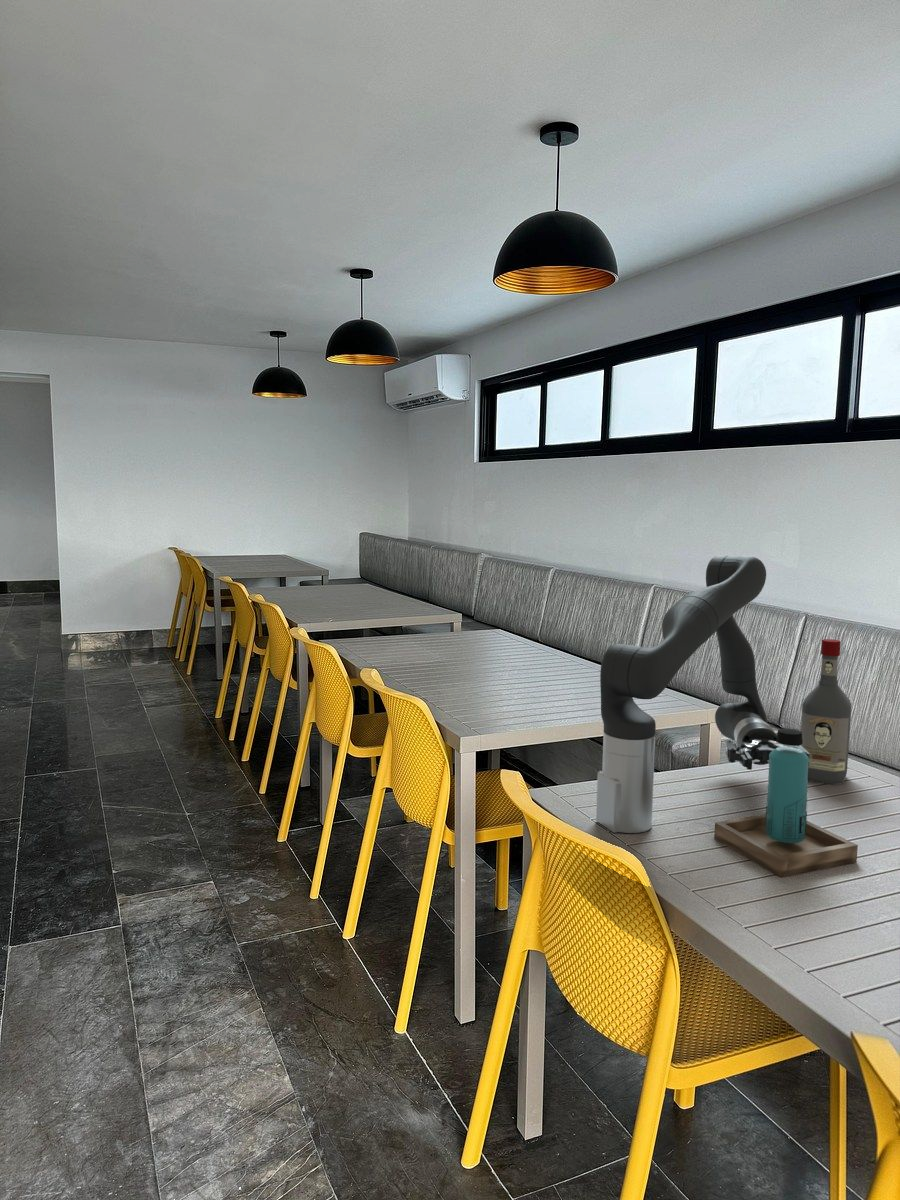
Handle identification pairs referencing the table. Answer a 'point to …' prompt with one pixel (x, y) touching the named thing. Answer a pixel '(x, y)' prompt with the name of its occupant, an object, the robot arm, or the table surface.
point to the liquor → (827, 722)
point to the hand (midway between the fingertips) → (774, 765)
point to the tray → (785, 847)
